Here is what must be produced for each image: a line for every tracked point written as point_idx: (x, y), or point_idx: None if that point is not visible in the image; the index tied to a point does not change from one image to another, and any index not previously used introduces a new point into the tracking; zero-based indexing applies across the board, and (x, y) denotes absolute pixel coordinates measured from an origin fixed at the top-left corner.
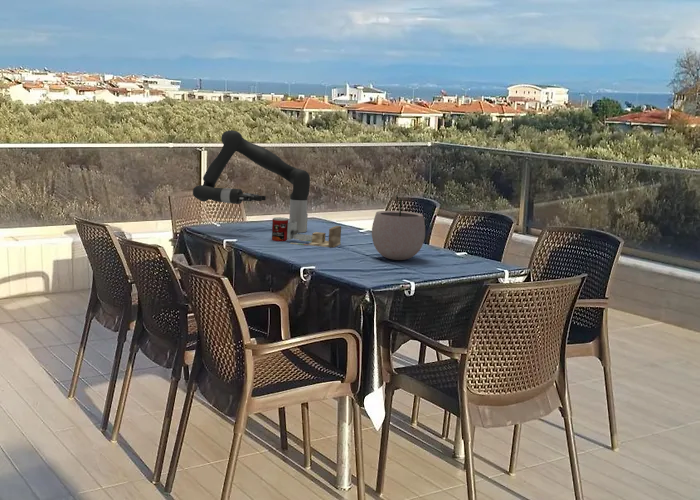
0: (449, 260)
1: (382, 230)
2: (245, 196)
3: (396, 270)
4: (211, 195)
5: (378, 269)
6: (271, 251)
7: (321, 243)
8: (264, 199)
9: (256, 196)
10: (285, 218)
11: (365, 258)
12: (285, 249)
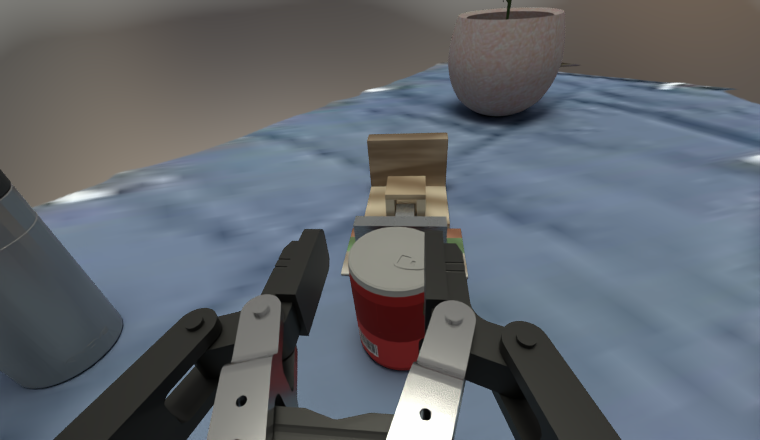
0: (445, 88)
1: (563, 50)
2: (614, 436)
3: (601, 100)
4: None
5: (624, 109)
6: (705, 280)
7: (429, 201)
8: (326, 260)
9: (447, 274)
10: (365, 242)
11: (535, 131)
12: (604, 257)
